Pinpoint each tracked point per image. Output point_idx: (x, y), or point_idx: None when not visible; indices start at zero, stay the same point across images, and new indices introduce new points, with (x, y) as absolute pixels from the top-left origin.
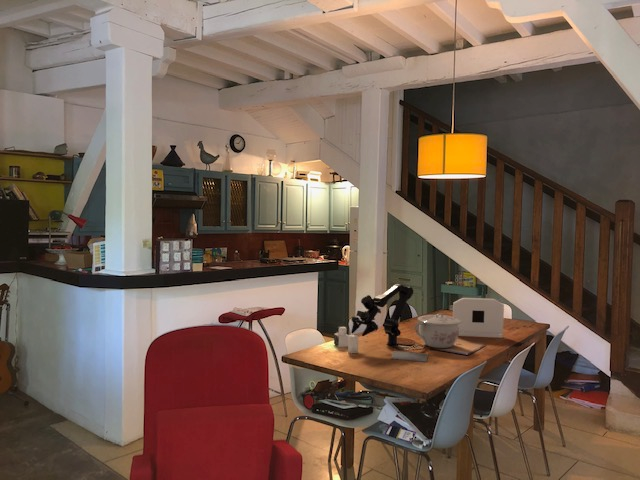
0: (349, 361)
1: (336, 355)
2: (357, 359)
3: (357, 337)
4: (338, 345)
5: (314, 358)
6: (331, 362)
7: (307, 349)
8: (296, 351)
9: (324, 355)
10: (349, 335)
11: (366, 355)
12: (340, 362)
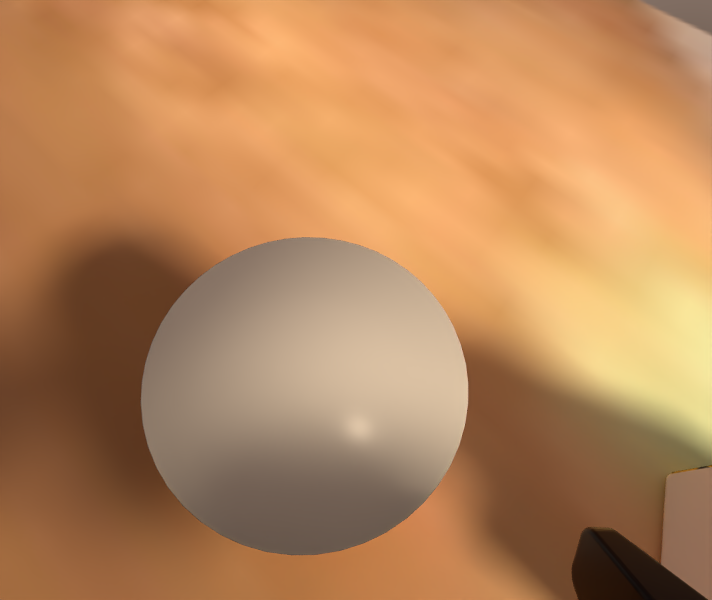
0: (77, 140)
1: (347, 192)
2: (42, 251)
3: (150, 396)
4: (687, 471)
5: (396, 13)
6: (200, 25)
7: (706, 136)
8: (671, 42)
9: (424, 114)
10: (408, 306)
11: (40, 502)
12: (133, 68)
